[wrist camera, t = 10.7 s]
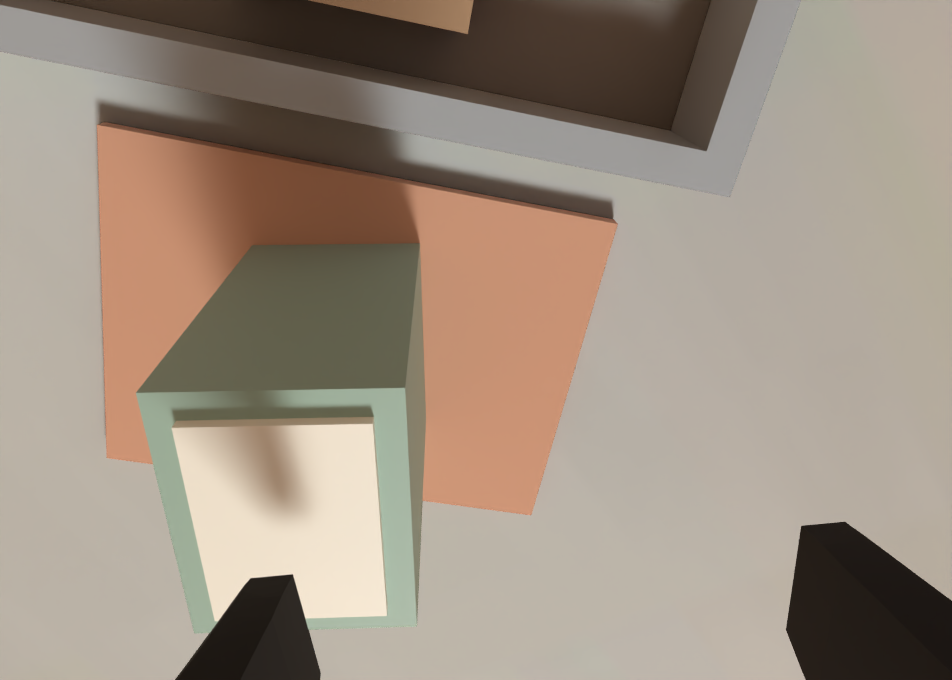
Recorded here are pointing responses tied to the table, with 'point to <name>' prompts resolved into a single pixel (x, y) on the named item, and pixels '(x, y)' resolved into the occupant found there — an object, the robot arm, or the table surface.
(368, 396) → the labelled box
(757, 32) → the parts bin
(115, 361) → the mat
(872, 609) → the robot arm
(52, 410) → the table surface
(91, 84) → the table surface
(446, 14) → the walnut block
